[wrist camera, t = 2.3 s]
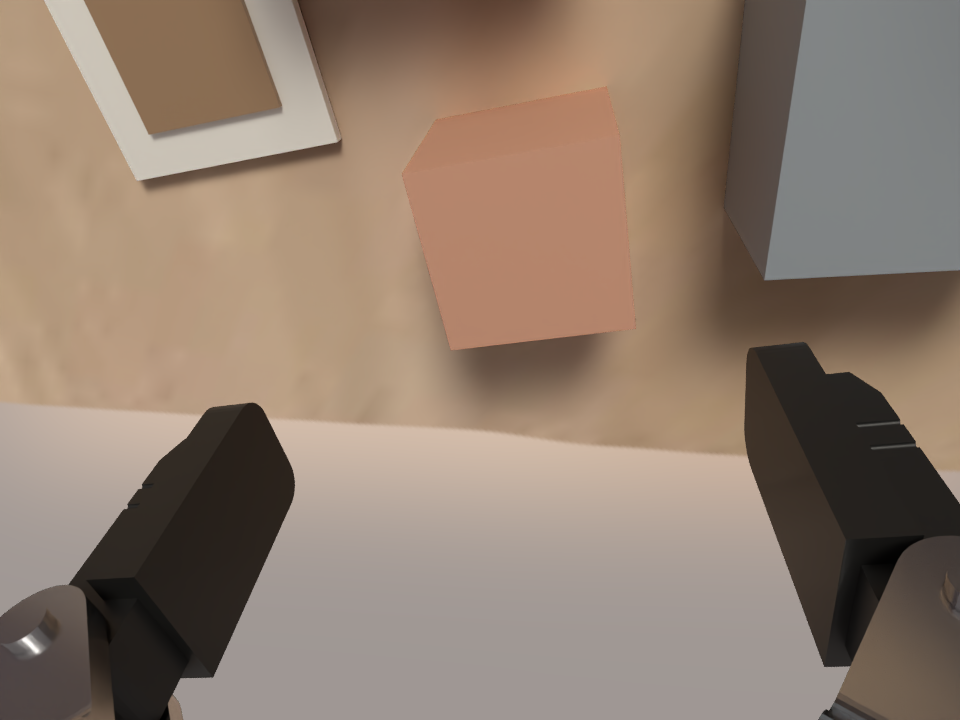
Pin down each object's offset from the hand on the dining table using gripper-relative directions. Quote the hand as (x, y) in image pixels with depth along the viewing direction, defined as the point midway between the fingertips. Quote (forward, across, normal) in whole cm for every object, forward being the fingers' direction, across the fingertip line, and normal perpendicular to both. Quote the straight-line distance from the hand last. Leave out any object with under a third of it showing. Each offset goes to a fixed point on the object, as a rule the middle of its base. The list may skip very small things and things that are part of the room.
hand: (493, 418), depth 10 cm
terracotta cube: (+11, 0, 0) cm, 11 cm away
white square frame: (+11, +9, -6) cm, 15 cm away
